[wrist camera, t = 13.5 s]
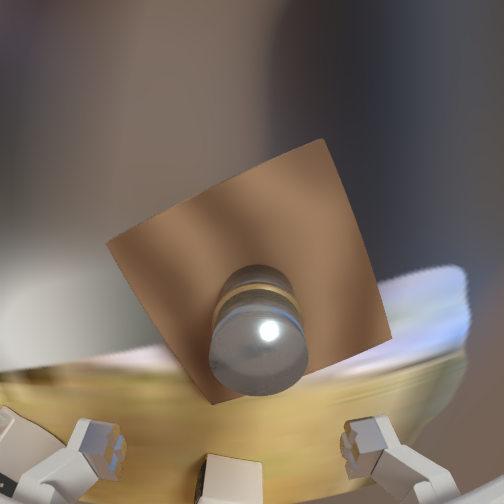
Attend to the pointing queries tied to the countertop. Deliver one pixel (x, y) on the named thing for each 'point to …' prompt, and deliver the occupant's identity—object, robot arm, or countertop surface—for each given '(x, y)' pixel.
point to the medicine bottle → (229, 481)
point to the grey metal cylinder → (258, 333)
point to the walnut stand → (258, 261)
